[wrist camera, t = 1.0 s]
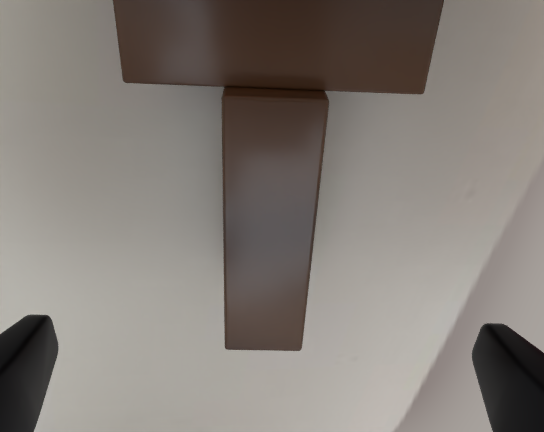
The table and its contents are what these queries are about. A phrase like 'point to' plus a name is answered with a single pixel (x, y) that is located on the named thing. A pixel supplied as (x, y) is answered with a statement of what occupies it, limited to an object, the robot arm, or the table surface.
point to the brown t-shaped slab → (275, 121)
